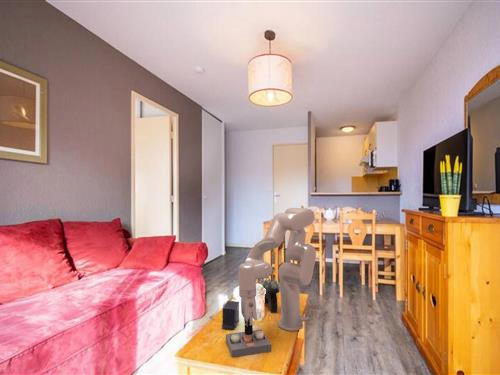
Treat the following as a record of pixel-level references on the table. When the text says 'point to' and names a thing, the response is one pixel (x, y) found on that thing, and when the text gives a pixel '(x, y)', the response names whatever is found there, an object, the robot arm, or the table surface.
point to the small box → (230, 315)
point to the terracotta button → (247, 338)
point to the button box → (248, 345)
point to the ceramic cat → (271, 294)
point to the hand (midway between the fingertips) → (248, 333)
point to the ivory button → (259, 335)
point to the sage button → (235, 338)
